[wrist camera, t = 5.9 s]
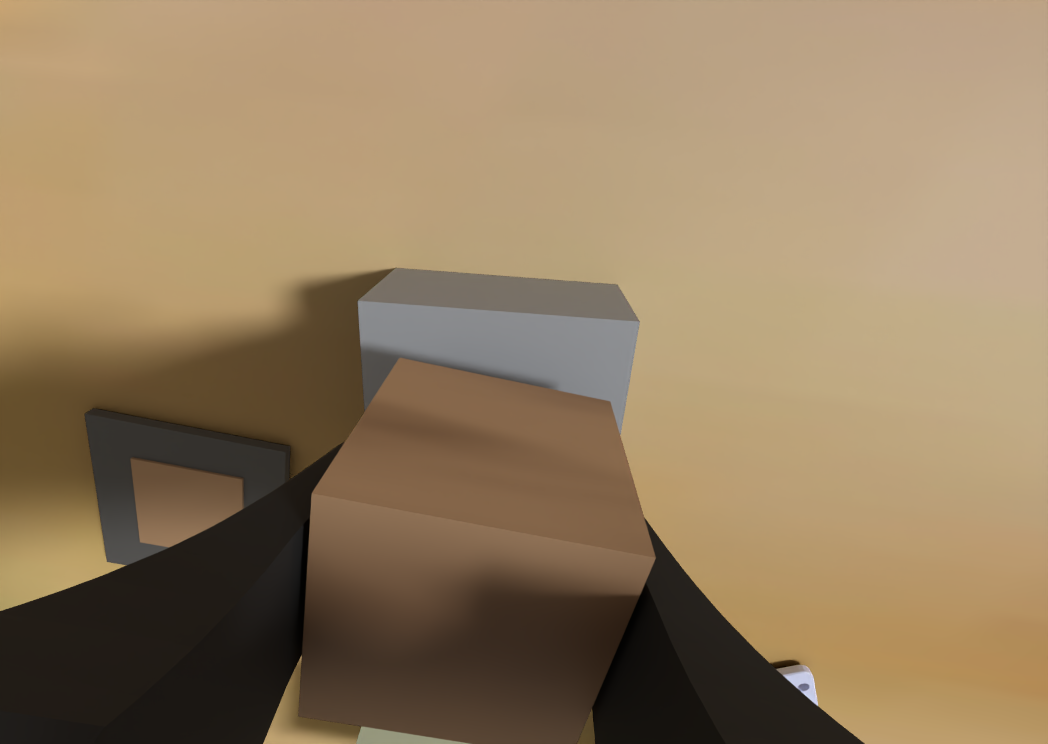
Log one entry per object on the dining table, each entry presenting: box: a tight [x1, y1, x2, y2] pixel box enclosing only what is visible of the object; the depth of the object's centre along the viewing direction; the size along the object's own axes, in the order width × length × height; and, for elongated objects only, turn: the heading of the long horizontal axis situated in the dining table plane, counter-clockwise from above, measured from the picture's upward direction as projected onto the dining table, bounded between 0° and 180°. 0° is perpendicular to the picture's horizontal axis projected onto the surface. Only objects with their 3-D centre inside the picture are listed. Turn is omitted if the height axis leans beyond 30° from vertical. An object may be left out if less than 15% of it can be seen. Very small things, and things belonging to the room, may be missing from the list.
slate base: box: [358, 268, 640, 434], centre depth 16 cm, size 7×7×4 cm
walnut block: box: [298, 358, 656, 744], centre depth 11 cm, size 5×5×5 cm
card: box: [85, 408, 290, 565], centre depth 20 cm, size 7×7×1 cm
